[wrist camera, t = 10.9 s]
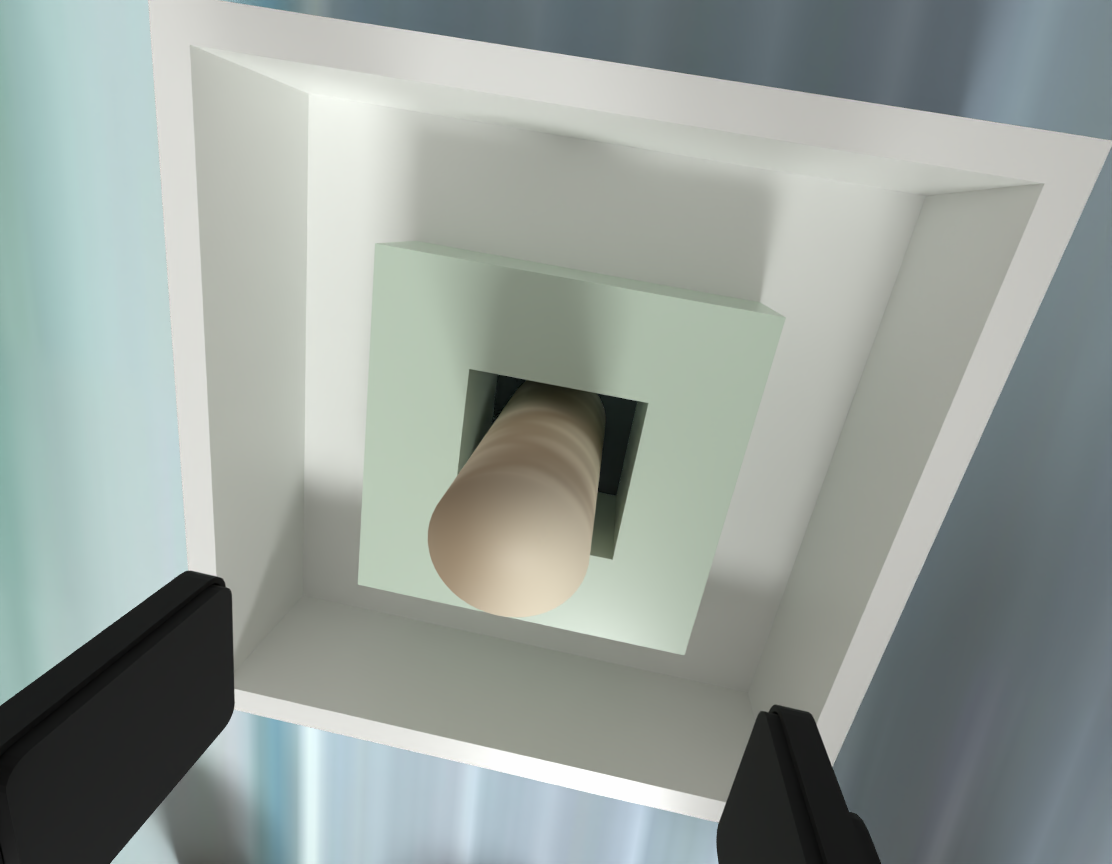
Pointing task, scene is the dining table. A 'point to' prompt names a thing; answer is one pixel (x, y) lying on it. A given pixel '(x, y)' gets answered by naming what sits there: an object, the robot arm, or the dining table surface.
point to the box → (577, 376)
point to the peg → (524, 505)
